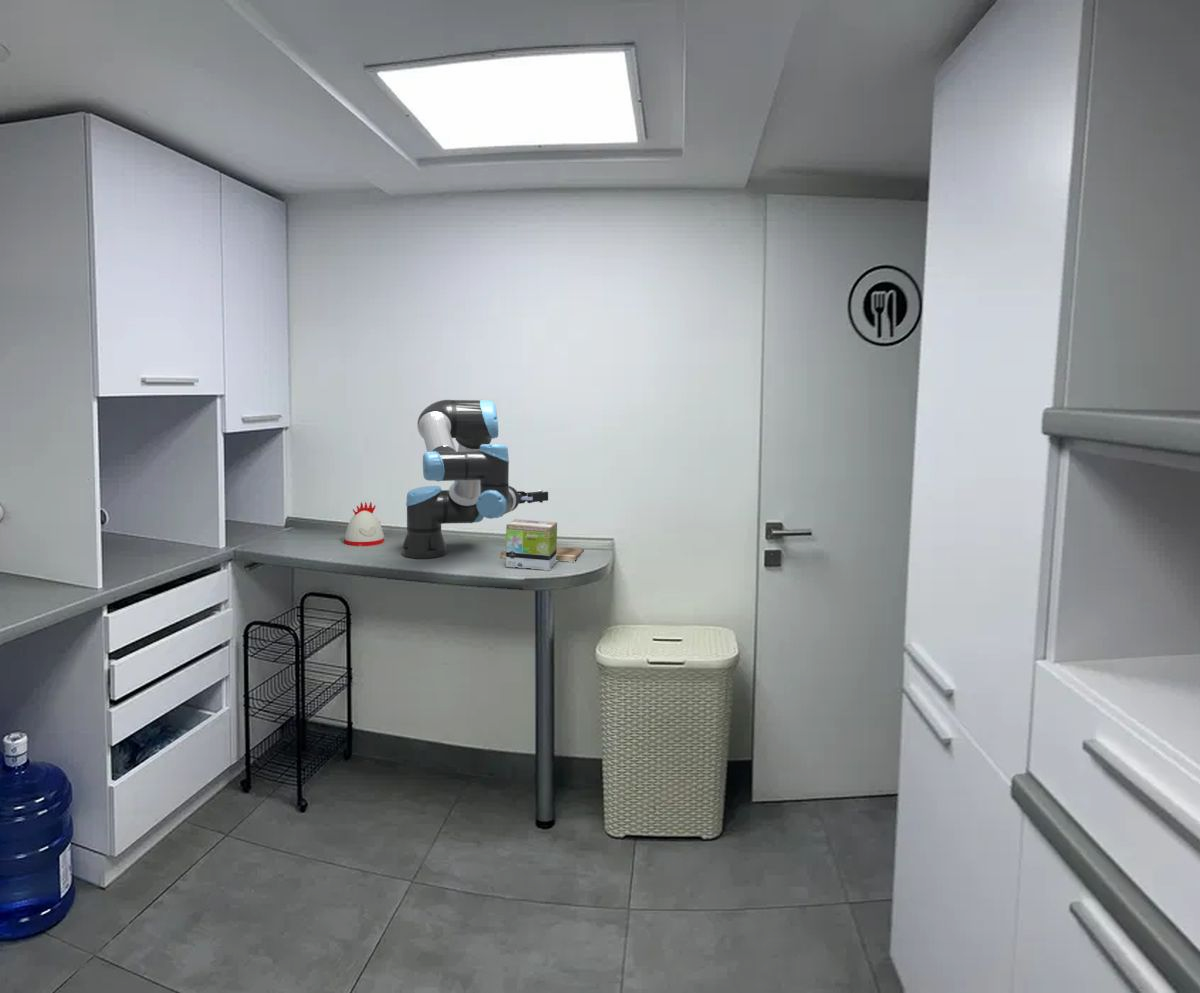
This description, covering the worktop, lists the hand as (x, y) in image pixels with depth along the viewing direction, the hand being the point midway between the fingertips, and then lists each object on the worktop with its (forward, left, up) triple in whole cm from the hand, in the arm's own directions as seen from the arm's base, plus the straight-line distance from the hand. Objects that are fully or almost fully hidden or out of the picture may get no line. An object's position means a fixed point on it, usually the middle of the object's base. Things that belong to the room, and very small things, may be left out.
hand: (520, 493), depth 231 cm
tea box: (0, +16, -27) cm, 31 cm away
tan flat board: (0, +34, -27) cm, 43 cm away
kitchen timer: (-68, +35, -27) cm, 81 cm away
